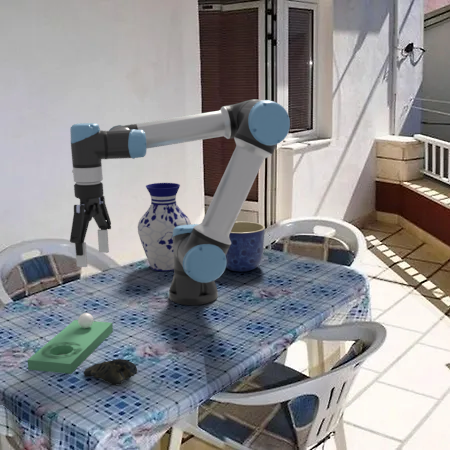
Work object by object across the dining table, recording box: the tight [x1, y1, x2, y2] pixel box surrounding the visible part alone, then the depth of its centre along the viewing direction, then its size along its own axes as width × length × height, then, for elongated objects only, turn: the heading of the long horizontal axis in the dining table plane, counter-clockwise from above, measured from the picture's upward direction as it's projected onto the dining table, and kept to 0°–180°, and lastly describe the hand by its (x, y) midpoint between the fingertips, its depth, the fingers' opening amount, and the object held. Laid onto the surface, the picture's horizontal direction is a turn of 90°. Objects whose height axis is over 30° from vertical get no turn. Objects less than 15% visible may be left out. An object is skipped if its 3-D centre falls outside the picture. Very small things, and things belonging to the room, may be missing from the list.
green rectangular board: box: [27, 319, 114, 375], centre depth 156 cm, size 25×11×2 cm, turn 168°
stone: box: [83, 358, 138, 386], centre depth 140 cm, size 7×13×5 cm, turn 71°
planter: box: [225, 221, 266, 272], centre depth 219 cm, size 17×17×15 cm
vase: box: [137, 182, 191, 273], centre depth 219 cm, size 19×19×30 cm
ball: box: [77, 312, 95, 328], centre depth 163 cm, size 4×4×4 cm
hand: (93, 259), depth 168 cm, fingers open, 13 cm apart
